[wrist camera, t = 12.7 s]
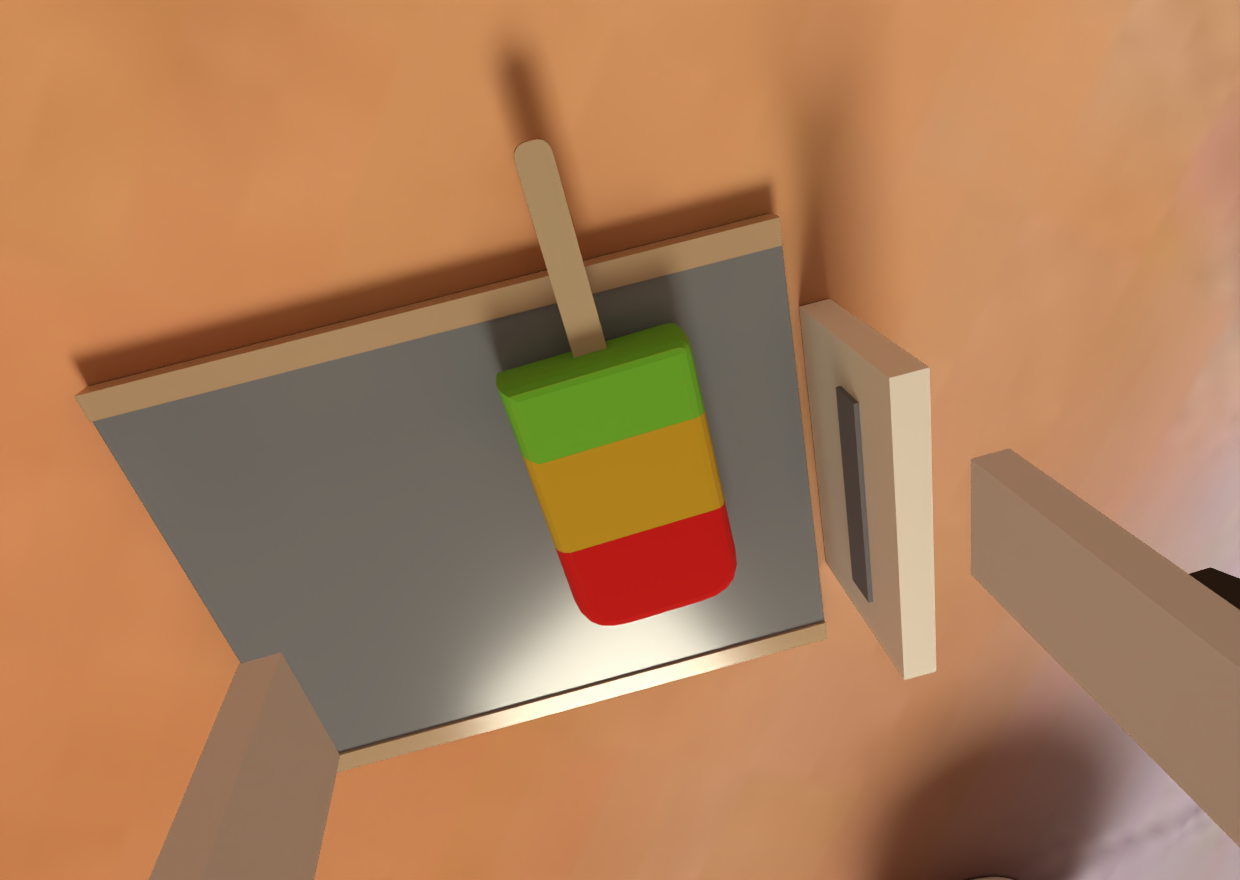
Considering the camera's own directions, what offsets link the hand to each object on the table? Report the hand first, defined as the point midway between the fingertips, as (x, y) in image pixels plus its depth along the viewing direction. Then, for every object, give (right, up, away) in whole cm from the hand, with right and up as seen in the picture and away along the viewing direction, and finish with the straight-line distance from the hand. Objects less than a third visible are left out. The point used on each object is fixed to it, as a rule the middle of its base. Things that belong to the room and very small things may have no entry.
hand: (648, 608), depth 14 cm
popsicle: (-1, +5, +9) cm, 10 cm away
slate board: (-4, 0, +11) cm, 12 cm away
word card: (+7, +3, +11) cm, 13 cm away
